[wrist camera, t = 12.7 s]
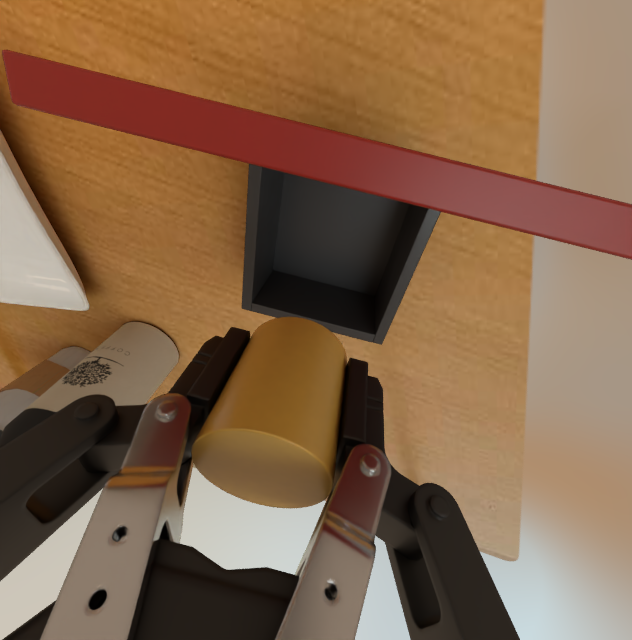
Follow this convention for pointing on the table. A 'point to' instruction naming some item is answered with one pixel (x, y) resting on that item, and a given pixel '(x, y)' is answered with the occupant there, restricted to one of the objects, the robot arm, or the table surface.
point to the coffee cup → (36, 383)
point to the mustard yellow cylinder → (278, 417)
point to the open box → (329, 252)
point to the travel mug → (106, 375)
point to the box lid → (321, 154)
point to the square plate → (32, 247)
